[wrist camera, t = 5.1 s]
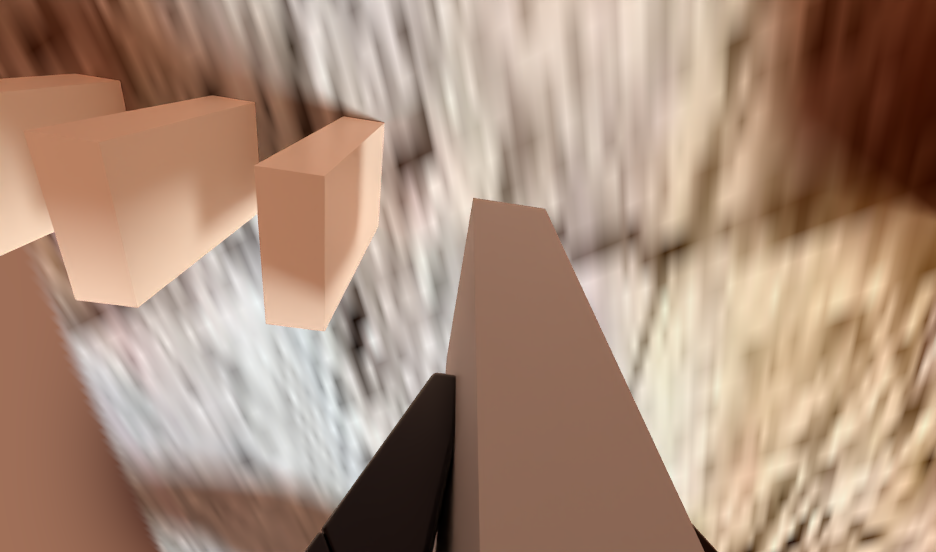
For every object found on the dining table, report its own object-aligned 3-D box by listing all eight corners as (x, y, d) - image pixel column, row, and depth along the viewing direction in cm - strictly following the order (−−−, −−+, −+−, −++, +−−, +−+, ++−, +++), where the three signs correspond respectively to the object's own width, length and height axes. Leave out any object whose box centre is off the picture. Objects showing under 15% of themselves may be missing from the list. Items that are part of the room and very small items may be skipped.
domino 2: (262, 209, 19) (137, 307, 12) (224, 204, 19) (75, 299, 12) (255, 102, 17) (98, 142, 10) (212, 95, 17) (23, 130, 10)
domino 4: (506, 365, 12) (562, 865, 4) (446, 357, 11) (409, 857, 4) (545, 209, 10) (760, 668, 2) (473, 197, 9) (480, 646, 2)
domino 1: (142, 192, 18) (-61, 282, 11) (103, 187, 18) (-127, 274, 11) (120, 80, 16) (-144, 105, 9) (75, 73, 16) (-225, 93, 9)
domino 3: (378, 226, 19) (324, 331, 12) (341, 221, 19) (265, 323, 12) (384, 122, 17) (324, 176, 10) (343, 116, 17) (254, 165, 10)
